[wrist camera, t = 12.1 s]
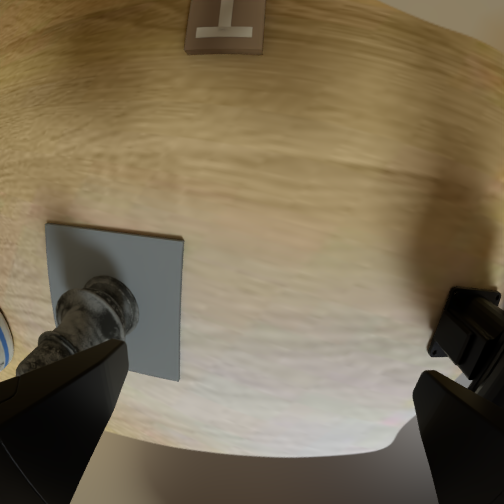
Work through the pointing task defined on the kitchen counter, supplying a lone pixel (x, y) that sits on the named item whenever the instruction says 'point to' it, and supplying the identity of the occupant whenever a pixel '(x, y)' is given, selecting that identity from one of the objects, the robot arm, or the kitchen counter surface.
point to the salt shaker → (85, 321)
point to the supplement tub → (5, 344)
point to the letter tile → (225, 27)
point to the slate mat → (134, 278)
